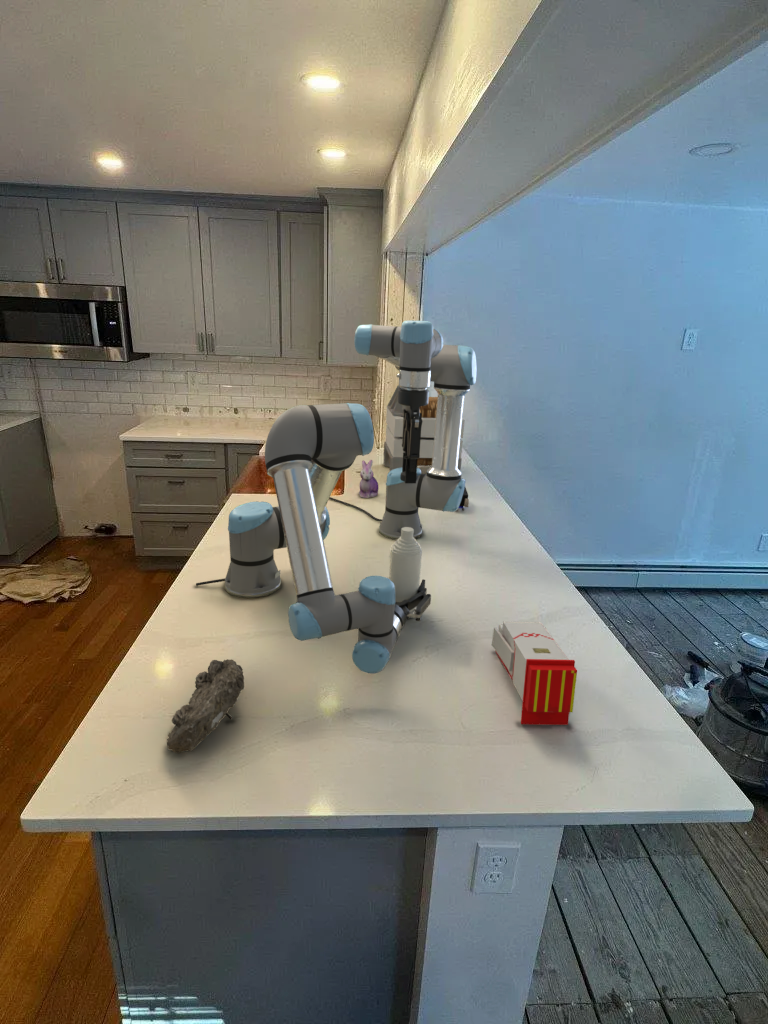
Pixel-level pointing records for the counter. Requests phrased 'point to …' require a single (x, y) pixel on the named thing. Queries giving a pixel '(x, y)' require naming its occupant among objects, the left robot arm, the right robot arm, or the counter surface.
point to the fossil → (206, 705)
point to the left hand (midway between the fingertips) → (407, 581)
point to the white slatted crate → (395, 433)
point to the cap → (404, 476)
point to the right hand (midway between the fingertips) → (408, 479)
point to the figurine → (368, 481)
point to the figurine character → (464, 500)
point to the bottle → (405, 565)
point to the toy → (537, 671)
